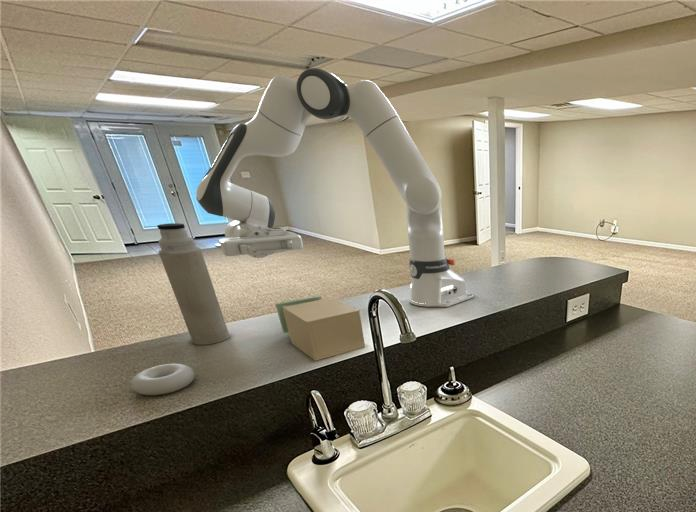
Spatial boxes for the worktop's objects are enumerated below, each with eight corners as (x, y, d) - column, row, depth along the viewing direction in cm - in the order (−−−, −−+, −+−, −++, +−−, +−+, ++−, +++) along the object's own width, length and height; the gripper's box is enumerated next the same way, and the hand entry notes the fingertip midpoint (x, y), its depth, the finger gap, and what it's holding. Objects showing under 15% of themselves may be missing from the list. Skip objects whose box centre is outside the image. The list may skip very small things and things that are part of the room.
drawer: (276, 327, 110) (269, 299, 106) (318, 318, 117) (312, 292, 114) (302, 346, 99) (295, 316, 96) (347, 335, 107) (341, 306, 103)
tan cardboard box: (291, 343, 103) (282, 307, 99) (339, 331, 111) (332, 297, 107) (315, 360, 94) (306, 322, 90) (365, 346, 102) (359, 310, 98)
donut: (204, 385, 83) (187, 370, 89) (198, 371, 81) (182, 356, 87) (142, 404, 76) (129, 386, 82) (135, 388, 75) (122, 371, 80)
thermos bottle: (208, 332, 108) (169, 221, 95) (236, 334, 108) (200, 222, 94) (184, 343, 101) (138, 225, 88) (214, 345, 101) (172, 226, 87)
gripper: (209, 232, 108) (224, 239, 100) (288, 227, 122) (308, 233, 113) (216, 256, 111) (231, 265, 103) (293, 249, 125) (312, 256, 116)
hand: (272, 248), depth 108 cm, fingers open, 8 cm apart
